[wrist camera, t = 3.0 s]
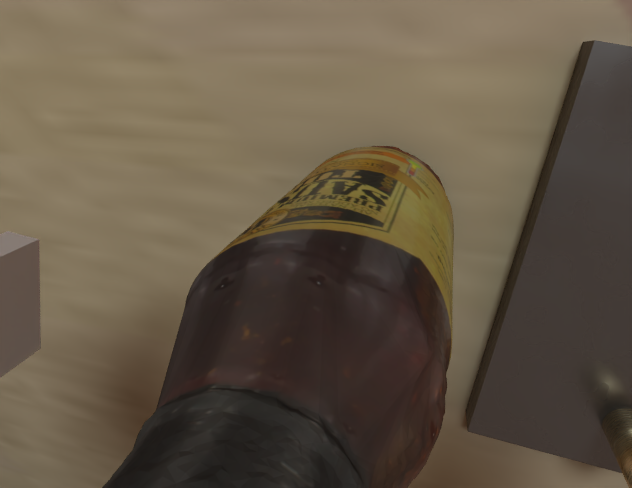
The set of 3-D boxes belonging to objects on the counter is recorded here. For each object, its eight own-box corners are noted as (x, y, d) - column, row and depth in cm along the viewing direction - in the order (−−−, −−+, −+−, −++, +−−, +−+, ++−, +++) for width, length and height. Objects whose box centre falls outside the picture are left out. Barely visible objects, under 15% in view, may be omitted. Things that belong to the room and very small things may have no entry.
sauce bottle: (405, 110, 22) (220, 406, 3) (479, 244, 23) (680, 1070, 4) (270, 190, 24) (-316, 648, 5) (344, 309, 25) (75, 1041, 6)
